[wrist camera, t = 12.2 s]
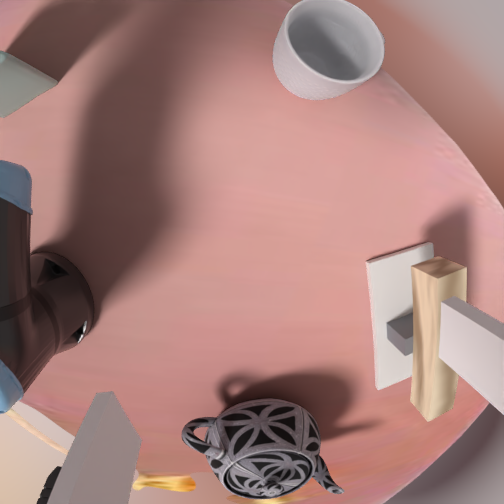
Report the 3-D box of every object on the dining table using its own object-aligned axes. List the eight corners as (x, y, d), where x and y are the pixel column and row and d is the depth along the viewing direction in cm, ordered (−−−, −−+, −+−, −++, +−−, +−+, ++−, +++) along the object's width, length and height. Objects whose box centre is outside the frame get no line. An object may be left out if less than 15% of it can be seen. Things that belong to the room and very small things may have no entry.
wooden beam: (410, 400, 43) (427, 421, 37) (410, 265, 37) (437, 278, 31) (434, 389, 43) (452, 408, 37) (438, 255, 37) (466, 267, 32)
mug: (340, 27, 36) (378, -15, 23) (375, 89, 39) (426, 63, 26) (250, 54, 36) (263, 7, 24) (287, 122, 39) (316, 98, 26)
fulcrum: (375, 386, 50) (392, 410, 43) (365, 261, 44) (389, 275, 37) (429, 363, 50) (449, 382, 43) (428, 241, 45) (456, 251, 38)
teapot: (296, 475, 53) (312, 529, 39) (161, 428, 47) (150, 493, 33) (358, 418, 51) (389, 472, 37) (217, 354, 45) (219, 422, 30)
